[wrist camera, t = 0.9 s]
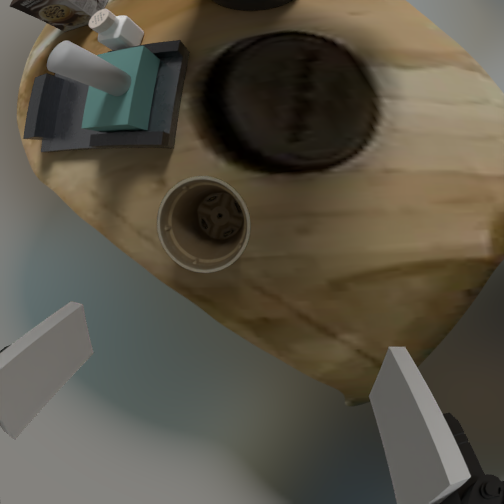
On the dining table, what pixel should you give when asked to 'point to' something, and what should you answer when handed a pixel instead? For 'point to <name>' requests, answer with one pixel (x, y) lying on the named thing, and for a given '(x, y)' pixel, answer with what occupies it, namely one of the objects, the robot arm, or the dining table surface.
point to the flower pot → (191, 228)
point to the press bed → (74, 99)
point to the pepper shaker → (115, 30)
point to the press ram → (110, 84)
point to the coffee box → (61, 11)
